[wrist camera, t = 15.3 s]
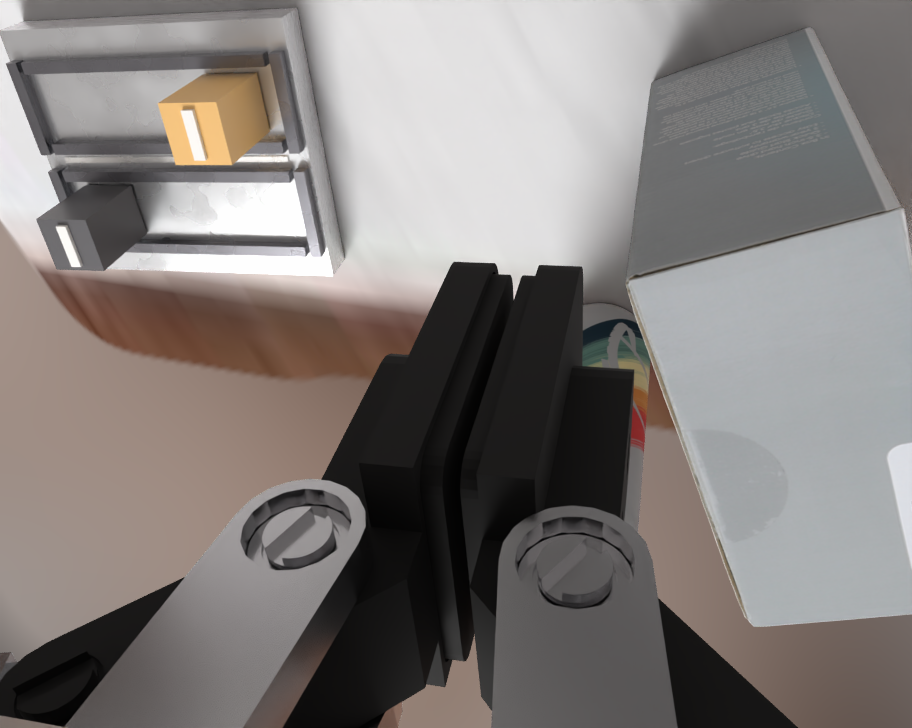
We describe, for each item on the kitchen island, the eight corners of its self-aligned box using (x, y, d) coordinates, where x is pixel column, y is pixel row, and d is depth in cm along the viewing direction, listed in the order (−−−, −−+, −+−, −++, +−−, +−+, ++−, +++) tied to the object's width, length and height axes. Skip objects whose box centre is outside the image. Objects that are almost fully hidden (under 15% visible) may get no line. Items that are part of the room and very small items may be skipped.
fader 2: (202, 74, 42) (155, 104, 39) (256, 72, 42) (214, 103, 38) (217, 132, 44) (173, 166, 40) (269, 131, 43) (230, 166, 40)
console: (22, 21, 45) (-10, 33, 43) (297, 7, 41) (276, 20, 39) (107, 253, 53) (84, 273, 51) (344, 259, 49) (329, 281, 47)
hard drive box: (874, 309, 44) (976, 618, 28) (724, 341, 47) (741, 636, 31) (815, 16, 37) (908, 211, 21) (643, 77, 40) (611, 287, 24)
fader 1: (84, 185, 48) (33, 221, 44) (130, 185, 47) (83, 221, 43) (102, 232, 50) (54, 271, 46) (146, 233, 49) (102, 272, 45)
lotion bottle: (668, 323, 47) (656, 609, 31) (625, 395, 50) (595, 685, 35) (574, 285, 47) (514, 552, 31) (538, 359, 50) (468, 634, 35)
